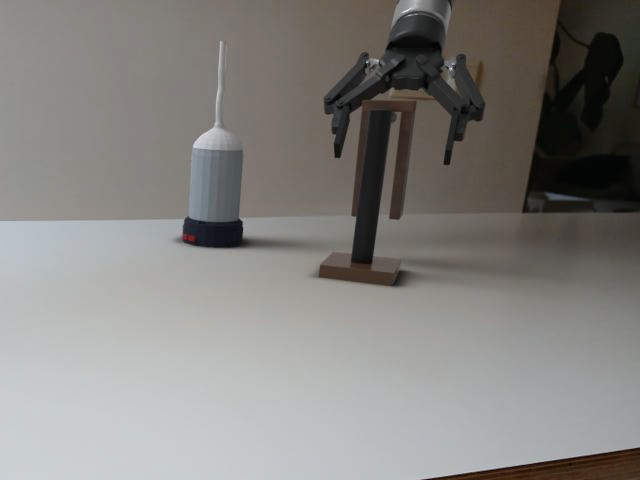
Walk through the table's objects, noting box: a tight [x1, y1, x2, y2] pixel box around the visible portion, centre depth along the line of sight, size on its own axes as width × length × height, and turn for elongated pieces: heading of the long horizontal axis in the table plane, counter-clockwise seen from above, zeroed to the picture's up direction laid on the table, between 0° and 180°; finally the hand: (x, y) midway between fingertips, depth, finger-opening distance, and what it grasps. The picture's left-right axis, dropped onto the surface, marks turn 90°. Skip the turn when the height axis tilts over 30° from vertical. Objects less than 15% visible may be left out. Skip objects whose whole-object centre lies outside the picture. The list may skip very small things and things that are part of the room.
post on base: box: [318, 109, 402, 287], centre depth 85 cm, size 8×14×18 cm, turn 157°
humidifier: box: [182, 40, 244, 249], centre depth 96 cm, size 8×8×25 cm
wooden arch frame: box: [350, 99, 418, 221], centre depth 87 cm, size 6×4×13 cm
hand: (390, 154), depth 94 cm, fingers open, 13 cm apart
